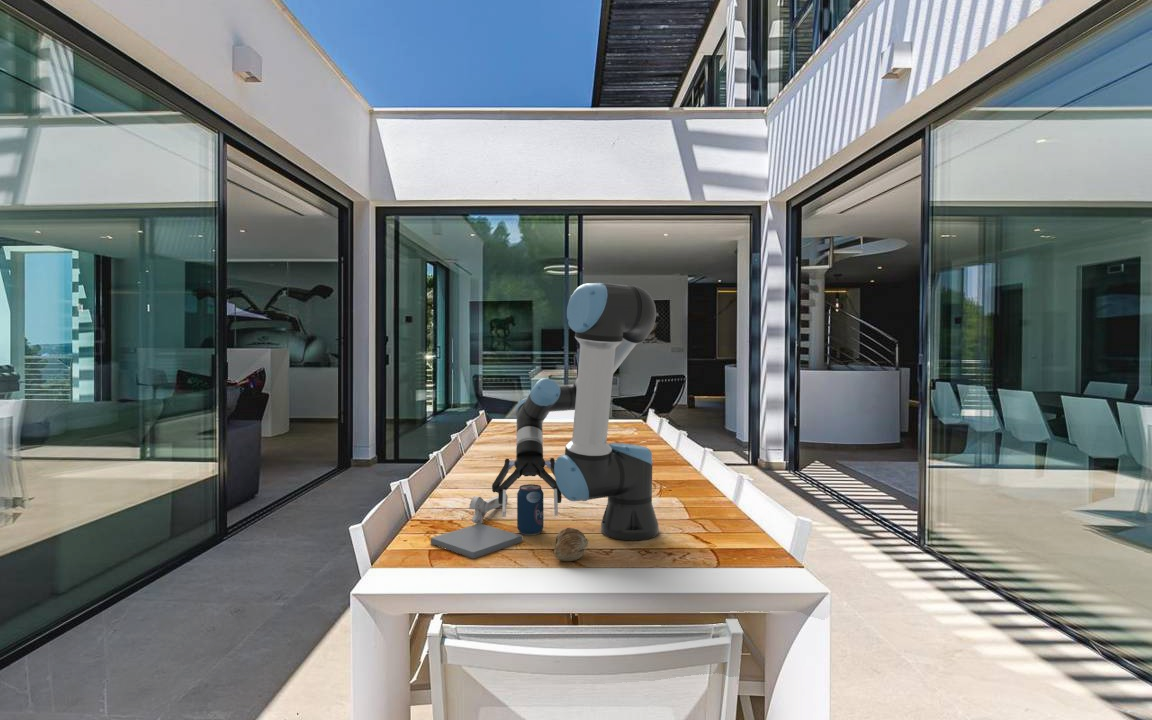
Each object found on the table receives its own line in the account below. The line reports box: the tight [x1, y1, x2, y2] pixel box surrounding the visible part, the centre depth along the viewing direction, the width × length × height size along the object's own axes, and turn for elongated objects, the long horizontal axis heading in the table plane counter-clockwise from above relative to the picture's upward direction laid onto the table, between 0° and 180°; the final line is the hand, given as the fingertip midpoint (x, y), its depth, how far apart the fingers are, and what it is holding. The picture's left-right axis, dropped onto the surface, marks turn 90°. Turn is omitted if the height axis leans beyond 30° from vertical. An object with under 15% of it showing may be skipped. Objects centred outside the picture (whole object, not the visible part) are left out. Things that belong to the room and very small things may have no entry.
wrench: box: [469, 493, 509, 525], centre depth 178 cm, size 8×2×30 cm
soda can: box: [516, 483, 545, 536], centre depth 162 cm, size 7×7×12 cm
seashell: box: [553, 527, 589, 562], centre depth 143 cm, size 9×7×8 cm
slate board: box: [430, 523, 523, 559], centre depth 153 cm, size 16×16×2 cm
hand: (530, 513), depth 160 cm, fingers open, 13 cm apart
